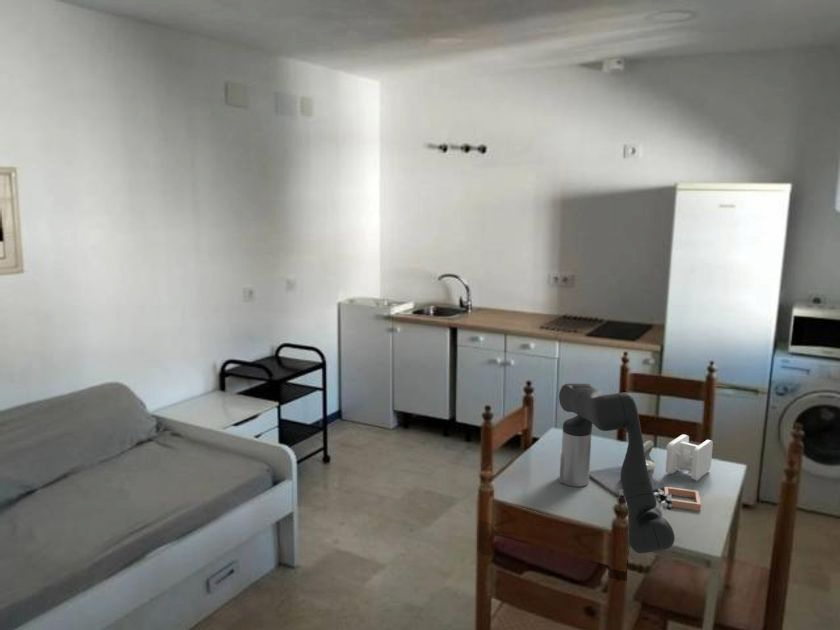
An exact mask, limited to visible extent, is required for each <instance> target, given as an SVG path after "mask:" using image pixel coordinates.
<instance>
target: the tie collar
mask: <svg viewBox="0 0 840 630" xmlns="http://www.w3.org/2000/svg"><path fill="white" fill-rule="evenodd" d="M663 492H664V494H665V495H667V494H671V496H672V495H673V496H679V497H685V498H686V497H687V498H693V499H694V501H695V502H694V501H687V500H683V499H682V500H681V499H674V498H672V508H678V509H686V510H693V511H699V512H700V511H701V509H702V508H701V507H702V504H701V498H700V493H699V490H694V489H693V490H692V489H687V488H678V487H673V486H672V487H671V486H664V489H663Z"/></svg>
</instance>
